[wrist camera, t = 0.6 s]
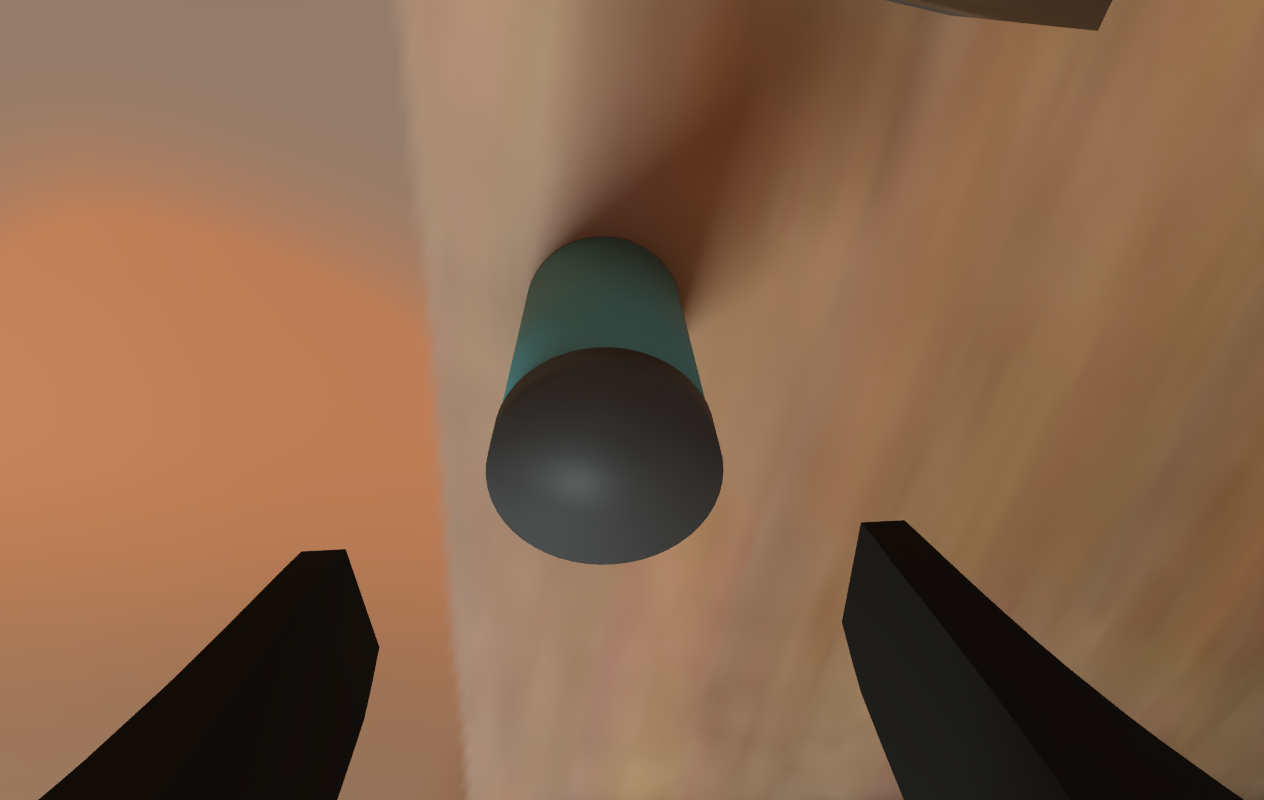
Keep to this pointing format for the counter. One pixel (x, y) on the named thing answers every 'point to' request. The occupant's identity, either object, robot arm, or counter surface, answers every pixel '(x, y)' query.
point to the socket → (1023, 11)
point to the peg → (603, 412)
